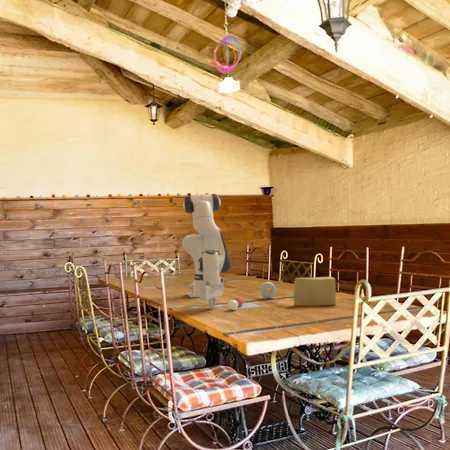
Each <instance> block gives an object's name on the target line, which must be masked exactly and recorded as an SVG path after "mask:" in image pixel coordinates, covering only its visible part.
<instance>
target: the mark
mask: <svg viewBox="0 0 450 450" xmlns="http://www.w3.org/2000/svg"><path fill="white" fill-rule="evenodd" d="M262 307H263V305H259V304H255V303H252V302H248V303H245V302H243V305H242V306H240V307H238V308H237V309H236V310H246V309H252V308H253V309H254V308H262Z"/></svg>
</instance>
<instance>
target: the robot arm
mask: <svg viewBox="0 0 450 450" xmlns="http://www.w3.org/2000/svg"><path fill="white" fill-rule="evenodd" d="M221 203H222V202H221V199H220V197H219V195H218V194H217V193H211V194H210V193H201V194H193V195H187V196H185V197H184V198H183V201H182V207H183V210H184V212H185V213H186V214H192V226H193V229H194V230H195V231H196V232H198V234H189V235H185V236H184V238H183V239H182V243H181V245H182V247H183V250H185V251H186V252H187V253H188V254H189V255H190V256H191V258H192V260H193V264H194V276H193V277H194V278H193V281H192V283H191V284H190V285H189V286H188V289H189V290H190V291H188V292H186V294H187V296H188V297H190V298H199V299H200V300H201V301H204V302H206V301H208V304H209V308H213V307H215V306H216V301H217V298H219V297H222V296H223V295H224V289H225V288H224V282H225V279H224V278H222V277H221V275H220V274H227V273H228V272H230V270H231V269H232V260H231V257H230V255H229V252H228V249H227V245H226V242H225V238H224V235H223V232H222V229H221V228H220V227H218V226H217V225H216V223H215V219H214V213H213V212H217V211H219V210H220V207H221Z"/></svg>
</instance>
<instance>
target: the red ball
mask: <svg viewBox="0 0 450 450" xmlns="http://www.w3.org/2000/svg"><path fill="white" fill-rule="evenodd" d="M233 300H235V301H237V302H238V307H240V306H242V305H243V304H244V300H243V298H242V297H241V296H236V297H234V299H233Z"/></svg>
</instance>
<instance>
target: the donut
mask: <svg viewBox="0 0 450 450" xmlns="http://www.w3.org/2000/svg"><path fill="white" fill-rule="evenodd" d="M268 288H269V289H270V292H266V289H268ZM276 293H277V287H276V286H275V284H274V283H273V282H270V281H267V282H263V283H262V284H261V285H260V287H259V294H260V295H261V297H263V298H264V299H272V298H273V297H274V296H275V295H276Z"/></svg>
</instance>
